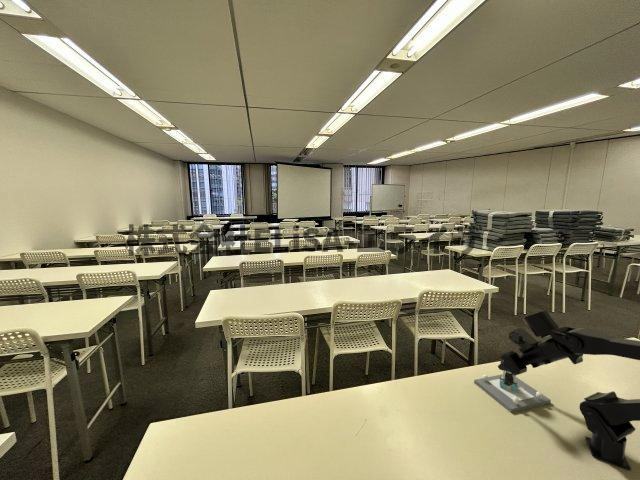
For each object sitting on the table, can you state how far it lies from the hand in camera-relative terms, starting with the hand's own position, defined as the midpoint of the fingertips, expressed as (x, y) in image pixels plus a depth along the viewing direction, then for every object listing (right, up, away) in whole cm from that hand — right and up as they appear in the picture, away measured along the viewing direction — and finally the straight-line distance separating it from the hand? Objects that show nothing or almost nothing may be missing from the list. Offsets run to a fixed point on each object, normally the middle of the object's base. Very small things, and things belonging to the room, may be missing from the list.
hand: (507, 364), depth 87 cm
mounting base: (+1, -10, 0) cm, 10 cm away
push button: (+1, -8, 0) cm, 8 cm away
